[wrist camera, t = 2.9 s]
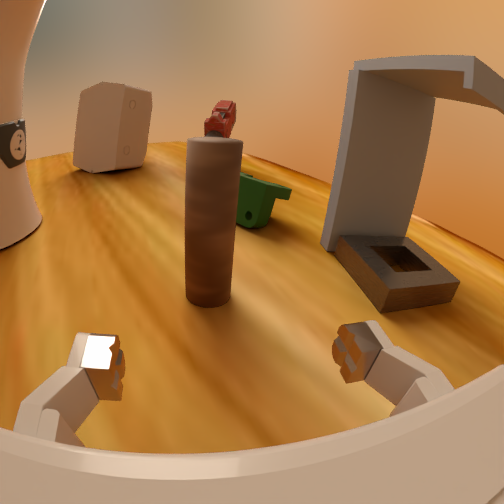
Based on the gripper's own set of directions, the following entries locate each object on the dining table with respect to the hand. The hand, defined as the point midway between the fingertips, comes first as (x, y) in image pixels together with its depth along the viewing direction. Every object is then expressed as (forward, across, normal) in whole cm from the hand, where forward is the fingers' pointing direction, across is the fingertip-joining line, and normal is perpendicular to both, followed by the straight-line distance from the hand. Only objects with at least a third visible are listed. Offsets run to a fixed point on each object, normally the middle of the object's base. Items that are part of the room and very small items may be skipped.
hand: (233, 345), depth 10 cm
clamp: (+30, +6, -7) cm, 31 cm away
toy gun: (+52, +4, -7) cm, 53 cm away
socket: (+13, +19, -7) cm, 24 cm away
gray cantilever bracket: (+13, +19, -7) cm, 24 cm away
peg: (+12, 0, -7) cm, 14 cm away
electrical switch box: (+61, -19, -7) cm, 64 cm away
